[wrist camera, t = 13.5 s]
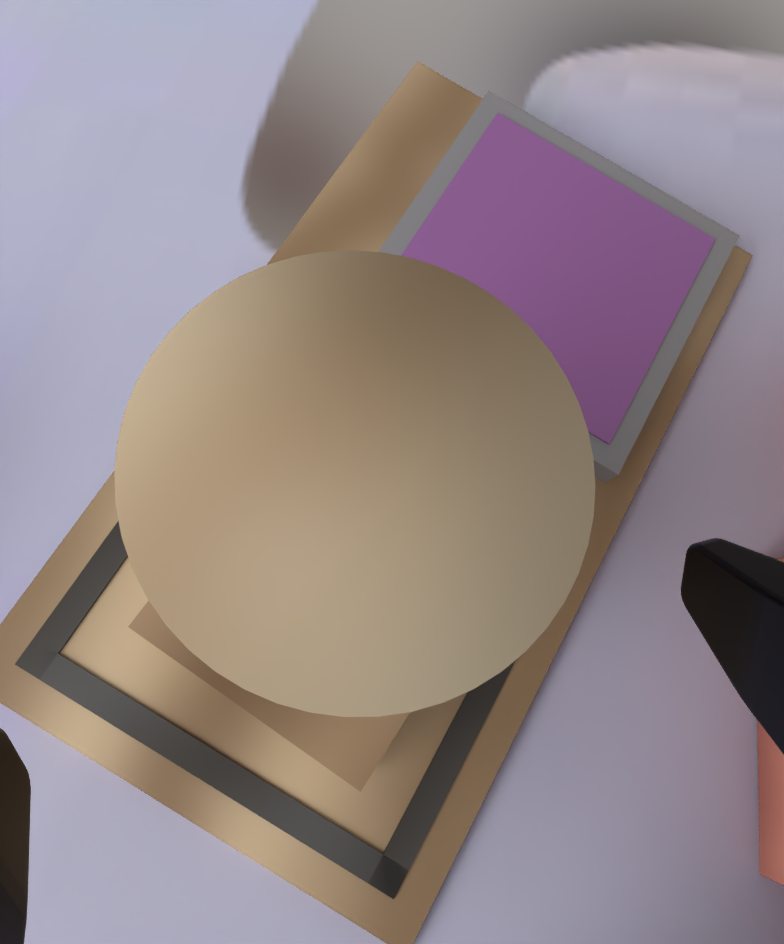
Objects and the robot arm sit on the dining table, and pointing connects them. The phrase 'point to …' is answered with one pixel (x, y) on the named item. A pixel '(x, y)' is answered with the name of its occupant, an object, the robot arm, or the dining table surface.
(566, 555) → the stamp
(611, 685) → the dining table surface
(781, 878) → the pottery
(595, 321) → the ink pad
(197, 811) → the stamp board
